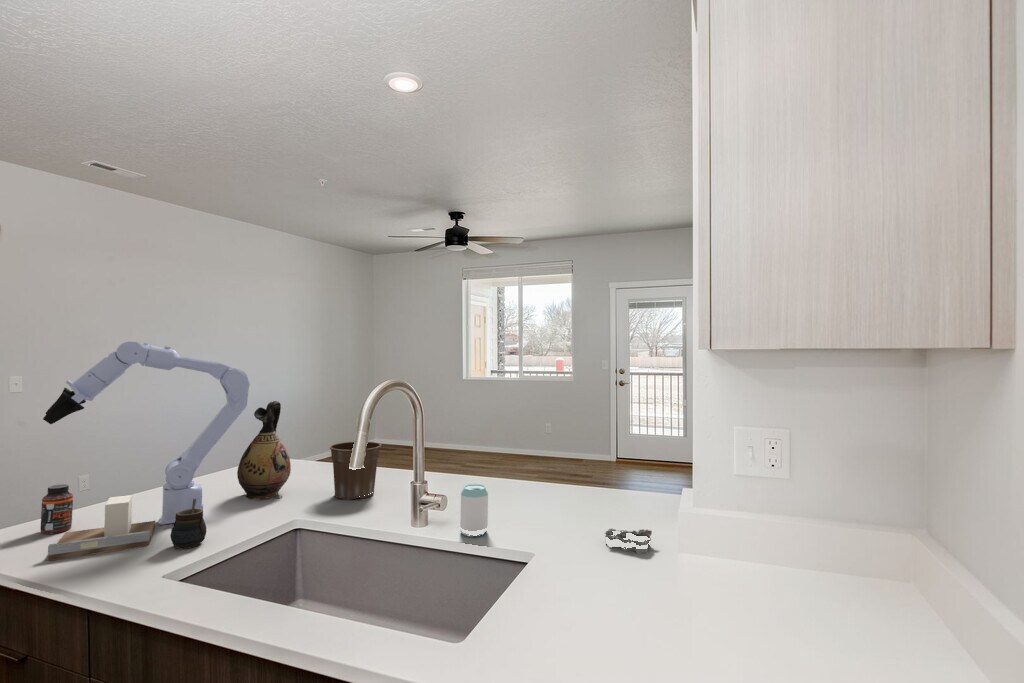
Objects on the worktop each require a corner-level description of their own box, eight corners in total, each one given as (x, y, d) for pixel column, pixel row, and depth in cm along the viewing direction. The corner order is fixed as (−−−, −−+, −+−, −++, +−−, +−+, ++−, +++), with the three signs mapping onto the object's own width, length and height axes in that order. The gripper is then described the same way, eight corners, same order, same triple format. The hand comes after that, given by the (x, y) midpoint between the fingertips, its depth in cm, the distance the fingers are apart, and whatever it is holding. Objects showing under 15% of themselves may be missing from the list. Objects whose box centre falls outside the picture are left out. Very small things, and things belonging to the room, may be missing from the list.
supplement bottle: (52, 536, 125) (54, 489, 125) (33, 533, 126) (35, 488, 126) (78, 527, 130) (79, 483, 131) (59, 525, 132) (61, 482, 132)
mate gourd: (167, 553, 115) (169, 509, 115) (172, 542, 122) (173, 500, 122) (204, 548, 118) (205, 505, 119) (207, 537, 125) (208, 497, 125)
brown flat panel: (154, 525, 133) (154, 520, 133) (148, 545, 119) (149, 540, 119) (65, 537, 124) (65, 532, 124) (47, 560, 110) (47, 555, 110)
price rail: (149, 539, 120) (149, 530, 120) (148, 540, 119) (149, 532, 119) (49, 553, 111) (49, 544, 111) (47, 555, 110) (48, 546, 110)
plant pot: (343, 487, 173) (344, 439, 173) (388, 489, 171) (388, 441, 171) (318, 500, 157) (319, 448, 157) (367, 503, 155) (368, 450, 155)
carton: (131, 526, 128) (132, 495, 129) (127, 535, 122) (128, 502, 123) (108, 529, 126) (109, 497, 126) (103, 538, 120) (104, 504, 120)
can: (492, 531, 132) (492, 485, 133) (479, 540, 126) (480, 491, 126) (468, 526, 135) (469, 482, 135) (455, 535, 129) (455, 488, 129)
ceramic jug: (276, 502, 154) (278, 404, 155) (226, 501, 155) (229, 403, 155) (300, 487, 171) (302, 399, 172) (255, 487, 172) (257, 398, 172)
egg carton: (653, 547, 124) (654, 530, 124) (644, 557, 117) (645, 539, 117) (612, 538, 129) (612, 521, 129) (601, 547, 123) (601, 530, 123)
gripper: (85, 364, 132) (35, 403, 127) (83, 370, 121) (29, 413, 116) (109, 382, 136) (61, 421, 130) (110, 389, 125) (58, 432, 119)
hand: (48, 418), depth 123 cm, fingers open, 7 cm apart
